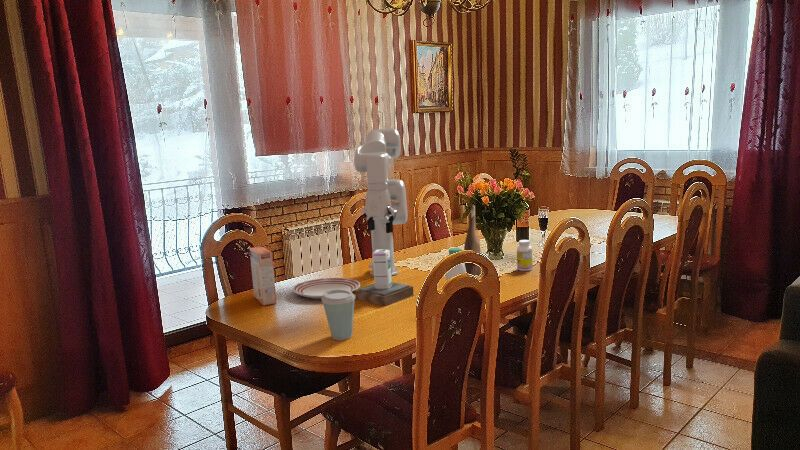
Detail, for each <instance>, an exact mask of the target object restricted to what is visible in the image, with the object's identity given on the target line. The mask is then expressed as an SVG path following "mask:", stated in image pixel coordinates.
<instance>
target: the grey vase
mask: <svg viewBox="0 0 800 450" xmlns="http://www.w3.org/2000/svg"><path fill="white" fill-rule="evenodd" d="M468 219H469V222H468V228H467V232H466V236H465V241H464V246H463V248H464V249H463V251H464V250H473V251H476V252H478V253H481V251H482V250H481V249H482V248H481V242H480V239H479V236H478V235H477V232H476V228H477V227H476V206H475V205H474V204H472V205H471V207H470V211H469V217H468ZM464 265H465V268H466V272H467V273H469V274H472V275H474V276H475V275H478V276H479V275H480V274H482V273H481V272H482V267H481V268H480V267H479V266H477V265H475V264H473V263H465V262H464Z"/></svg>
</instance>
